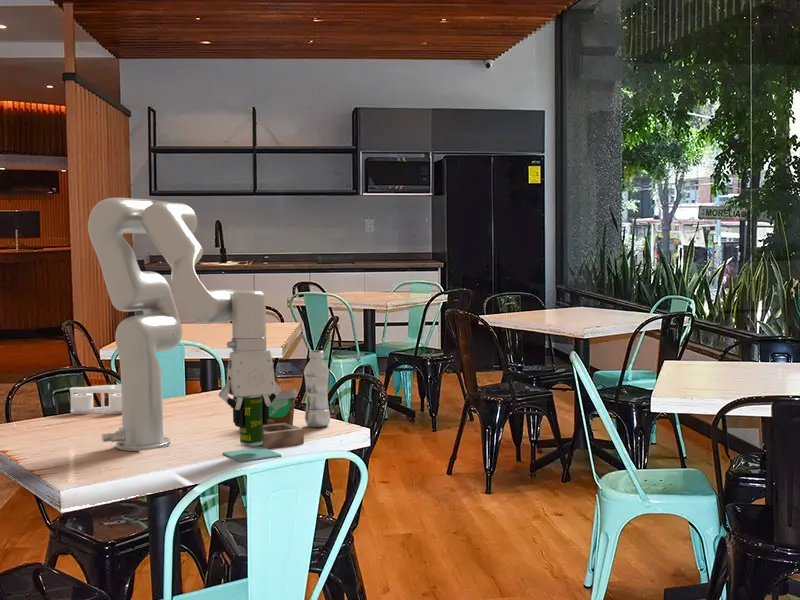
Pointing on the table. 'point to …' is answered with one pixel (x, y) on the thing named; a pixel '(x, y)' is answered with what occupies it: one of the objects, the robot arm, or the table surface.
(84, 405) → the white slotted holder
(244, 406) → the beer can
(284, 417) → the food container
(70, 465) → the table surface
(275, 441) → the walnut socket block
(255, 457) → the teal mat
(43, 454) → the table surface
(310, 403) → the plastic bottle
